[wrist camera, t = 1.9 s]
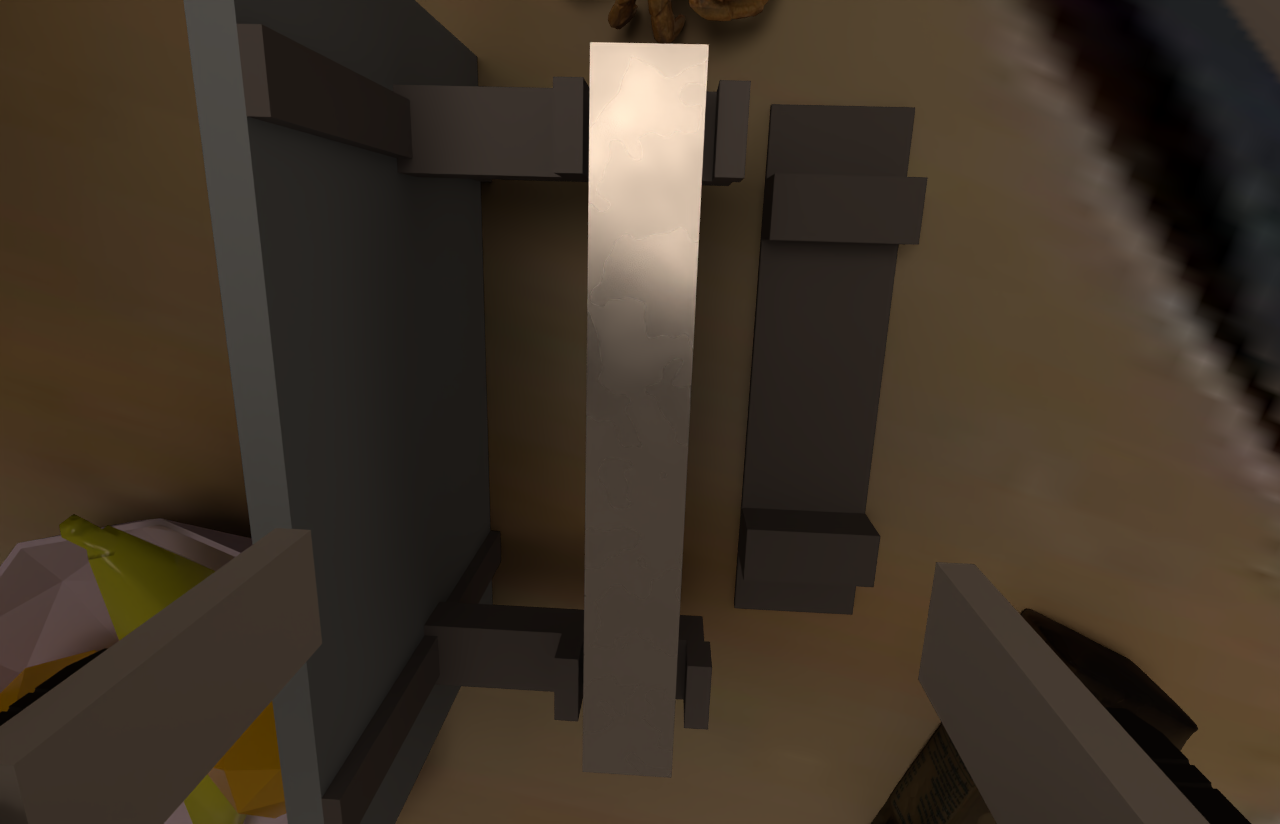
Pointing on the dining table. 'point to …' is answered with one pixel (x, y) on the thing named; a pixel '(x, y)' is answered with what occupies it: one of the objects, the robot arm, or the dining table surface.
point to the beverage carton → (938, 779)
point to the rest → (821, 351)
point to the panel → (385, 365)
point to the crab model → (710, 3)
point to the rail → (638, 391)
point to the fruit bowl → (111, 609)
